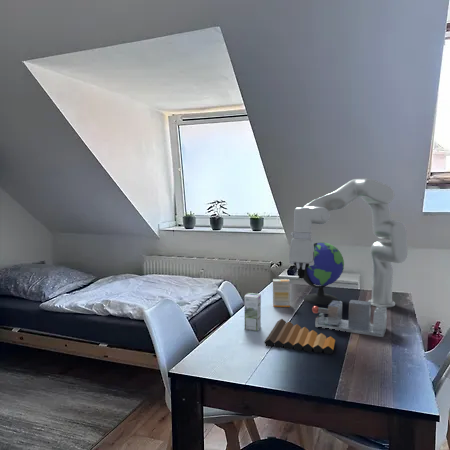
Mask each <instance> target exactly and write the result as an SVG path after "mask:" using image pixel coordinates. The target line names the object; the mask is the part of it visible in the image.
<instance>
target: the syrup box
mask: <svg viewBox="0 0 450 450" xmlns="http://www.w3.org/2000/svg"><path fill="white" fill-rule="evenodd" d="M243 299H244V330H245V331H254V332H258V331H259V330H260V329H261V327H262V323H261V317H262V316H261V315H262V314H261V313H262V311H261V309H262V308H261V307H262V305H261V303H262V296H261V293H253V292H247V293H246V294H245V295H244V298H243Z"/></svg>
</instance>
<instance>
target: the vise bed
mask: <svg viewBox="0 0 450 450" xmlns="http://www.w3.org/2000/svg"><path fill="white" fill-rule="evenodd" d="M387 309H388V307H379V306H375V309H374V311H373V317H372V318H373V323H371V322H370V327H369V329H363V328H356V327H349V326H348V321H349V319H343V318H342V319H341V321H340V322H339V324H338V325H334V324H328V316H327V317H325V313H318V315H317V316H316V317H315V321H314V324H315V328H318V327H322V328H321V329H325V328H329V329H328V330H332V329H335V330H334V331H339V330H340V332H345V331H346V333H353V334H361V335H365V336H366V335H367V336H373V337H380V338H384V336H385V333H386V330H387V320H388V319H387V315H388V311H387Z"/></svg>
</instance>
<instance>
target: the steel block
mask: <svg viewBox="0 0 450 450" xmlns="http://www.w3.org/2000/svg"><path fill="white" fill-rule="evenodd" d="M371 310H372V305H371V302H368V300H367V301H364V300H357V299H356V300H355V299H350V300H349V302H348V320H349V321H348V326H349V327H356V328H363V329H369V327H370V323H371V320H372V319H371V313H372V311H371Z"/></svg>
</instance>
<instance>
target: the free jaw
mask: <svg viewBox="0 0 450 450" xmlns="http://www.w3.org/2000/svg"><path fill="white" fill-rule="evenodd" d="M311 311H312V313H313V314H320V313H324V315H326V314H327V318H328V324H334V325H338V324H339V322H340V321H341V319H342V320H343V301H341V300H338V301H334V300H333V301H332V302H331V303H330V304H328V305H327V307H319V306H318V305H313V306H312V308H311Z"/></svg>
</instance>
